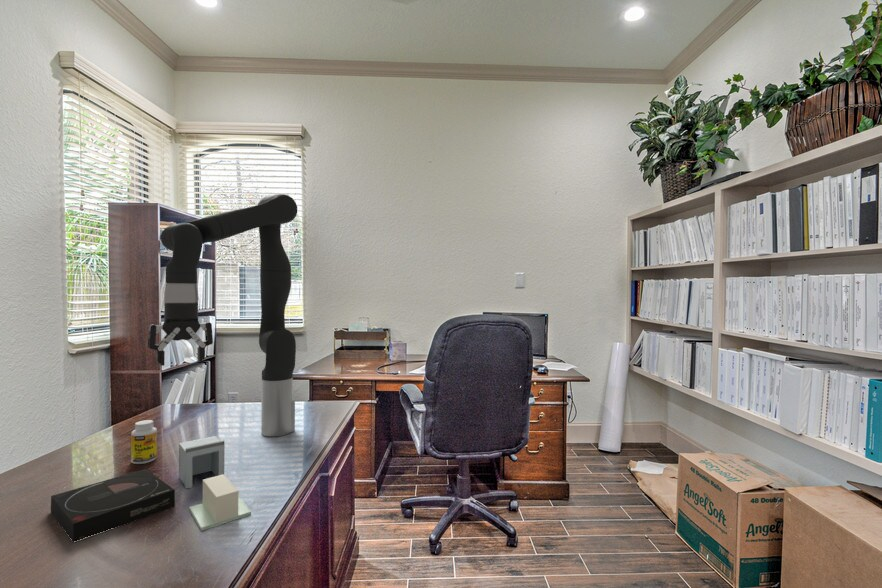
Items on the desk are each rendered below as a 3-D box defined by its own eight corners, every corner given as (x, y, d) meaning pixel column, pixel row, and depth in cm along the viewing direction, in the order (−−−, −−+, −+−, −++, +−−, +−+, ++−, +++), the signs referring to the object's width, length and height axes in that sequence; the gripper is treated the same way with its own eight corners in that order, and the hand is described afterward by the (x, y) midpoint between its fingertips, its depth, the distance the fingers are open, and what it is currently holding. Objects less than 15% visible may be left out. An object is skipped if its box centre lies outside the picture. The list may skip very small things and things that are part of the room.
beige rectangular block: (223, 497, 92) (223, 474, 92) (238, 515, 85) (238, 490, 85) (202, 503, 89) (202, 479, 89) (216, 522, 82) (216, 497, 82)
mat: (236, 496, 94) (236, 493, 94) (251, 514, 86) (251, 511, 86) (189, 509, 88) (189, 507, 88) (201, 530, 80) (201, 527, 80)
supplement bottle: (130, 466, 109) (130, 426, 109) (131, 459, 113) (131, 421, 113) (156, 462, 112) (156, 423, 112) (156, 455, 116) (156, 417, 116)
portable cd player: (144, 485, 100) (144, 468, 100) (174, 508, 89) (174, 489, 89) (50, 514, 87) (50, 494, 87) (73, 546, 76) (73, 523, 76)
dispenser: (215, 467, 108) (215, 432, 108) (224, 478, 102) (224, 441, 102) (179, 476, 103) (179, 439, 103) (186, 488, 97) (186, 449, 97)
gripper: (208, 300, 118) (208, 358, 118) (146, 301, 109) (146, 364, 109) (215, 301, 113) (215, 362, 113) (150, 301, 103) (150, 368, 103)
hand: (181, 363), depth 111 cm, fingers open, 8 cm apart
